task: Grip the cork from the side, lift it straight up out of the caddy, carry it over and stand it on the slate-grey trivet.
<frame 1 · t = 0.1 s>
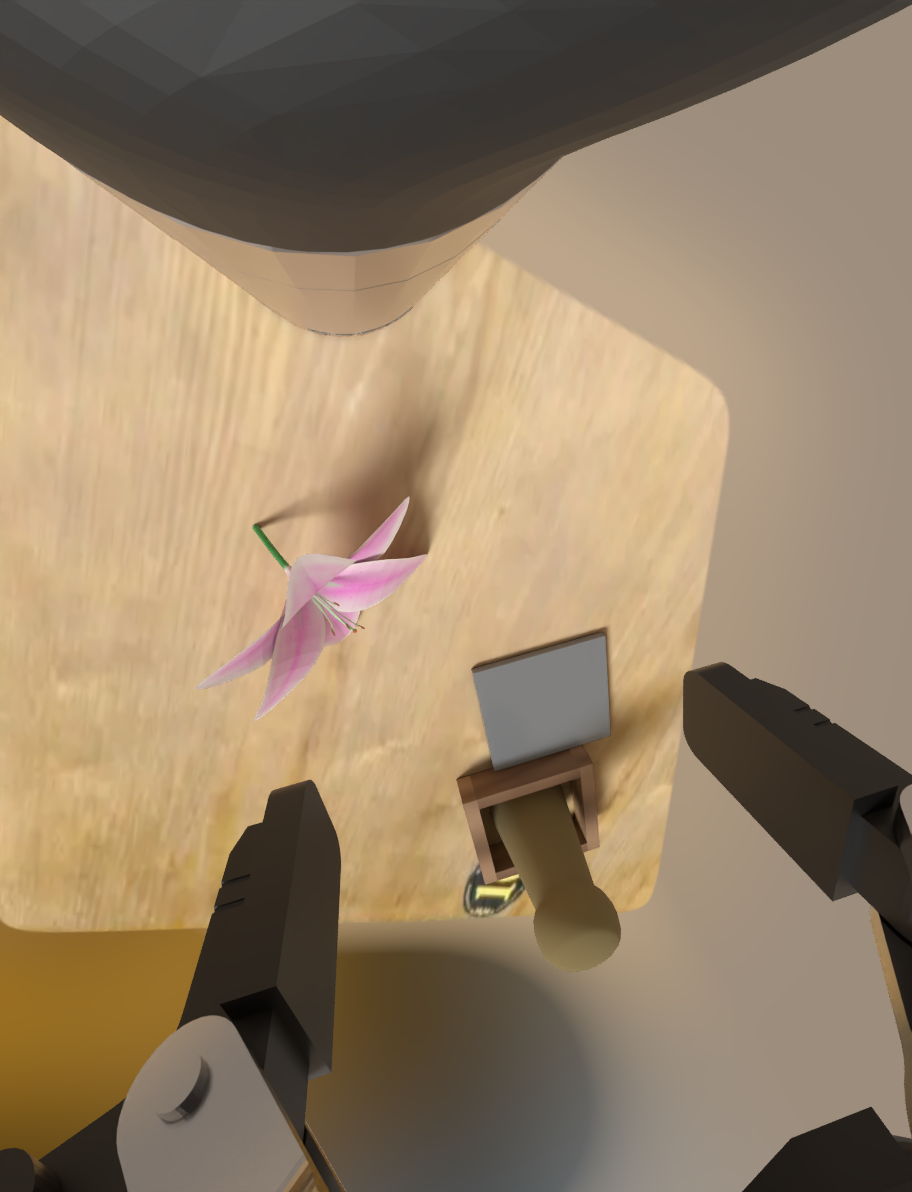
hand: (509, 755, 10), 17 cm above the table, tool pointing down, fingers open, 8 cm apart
cork: (525, 800, 37), resting in caddy
trivet: (544, 702, 33), on the table
lily: (328, 568, 26), on the table
caddy: (526, 803, 37), on the table
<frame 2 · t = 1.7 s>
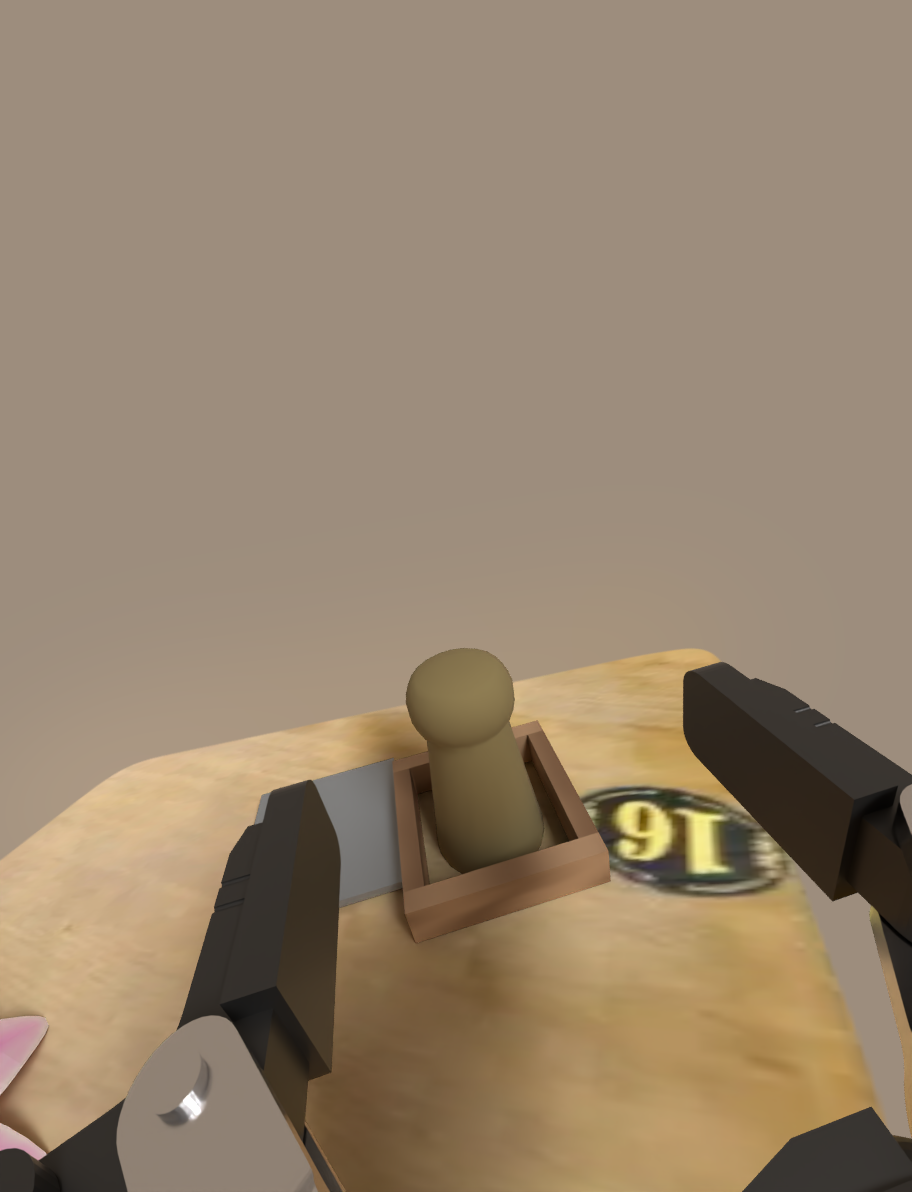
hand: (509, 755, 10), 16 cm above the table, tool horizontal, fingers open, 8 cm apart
cork: (490, 829, 26), resting in caddy
trivet: (326, 837, 28), on the table
caddy: (489, 826, 26), on the table
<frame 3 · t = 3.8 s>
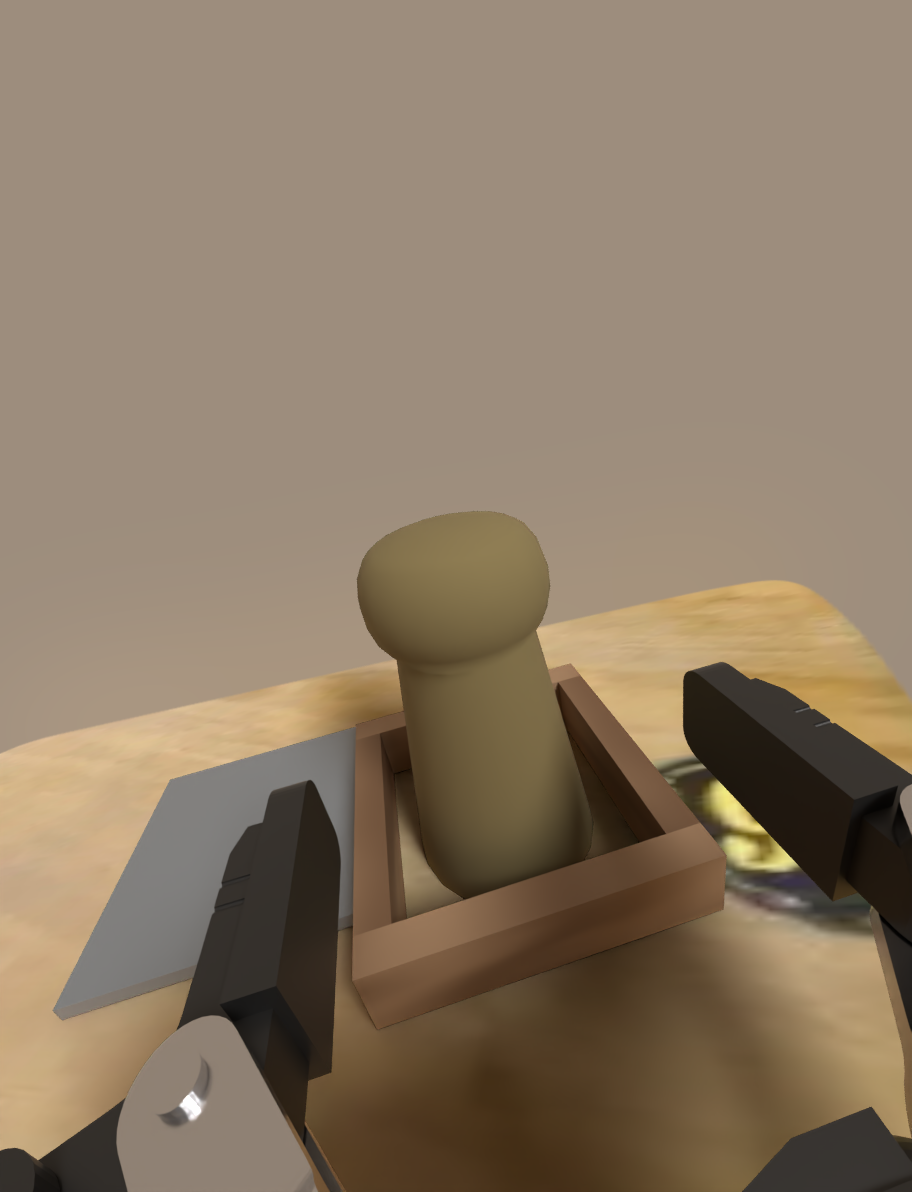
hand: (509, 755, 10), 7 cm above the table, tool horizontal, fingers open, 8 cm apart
cork: (505, 823, 17), resting in caddy
trivet: (251, 840, 18), on the table
caddy: (505, 819, 17), on the table
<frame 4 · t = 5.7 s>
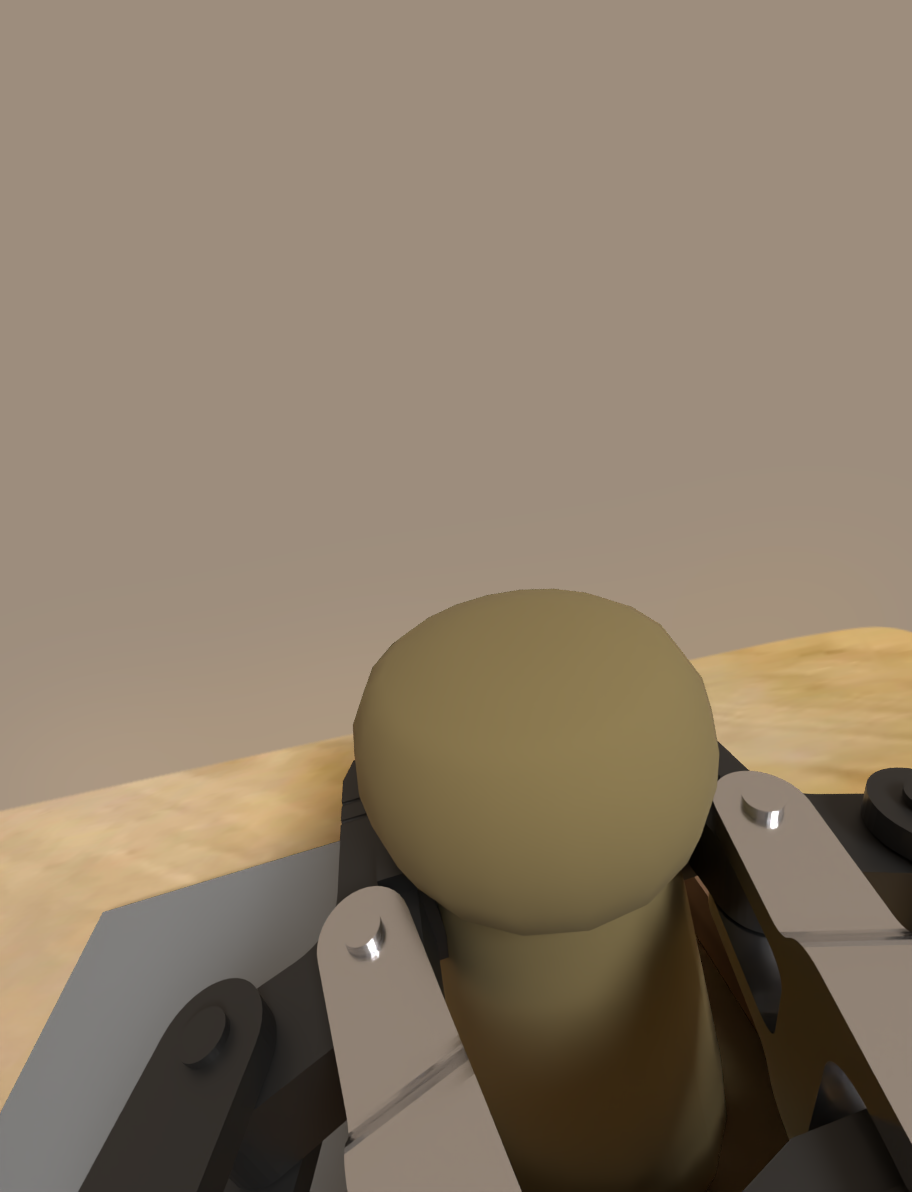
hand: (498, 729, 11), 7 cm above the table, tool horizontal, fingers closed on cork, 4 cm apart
cork: (578, 1040, 11), resting in caddy, touching gripper
trivet: (201, 1039, 12), on the table
caddy: (578, 1035, 11), on the table
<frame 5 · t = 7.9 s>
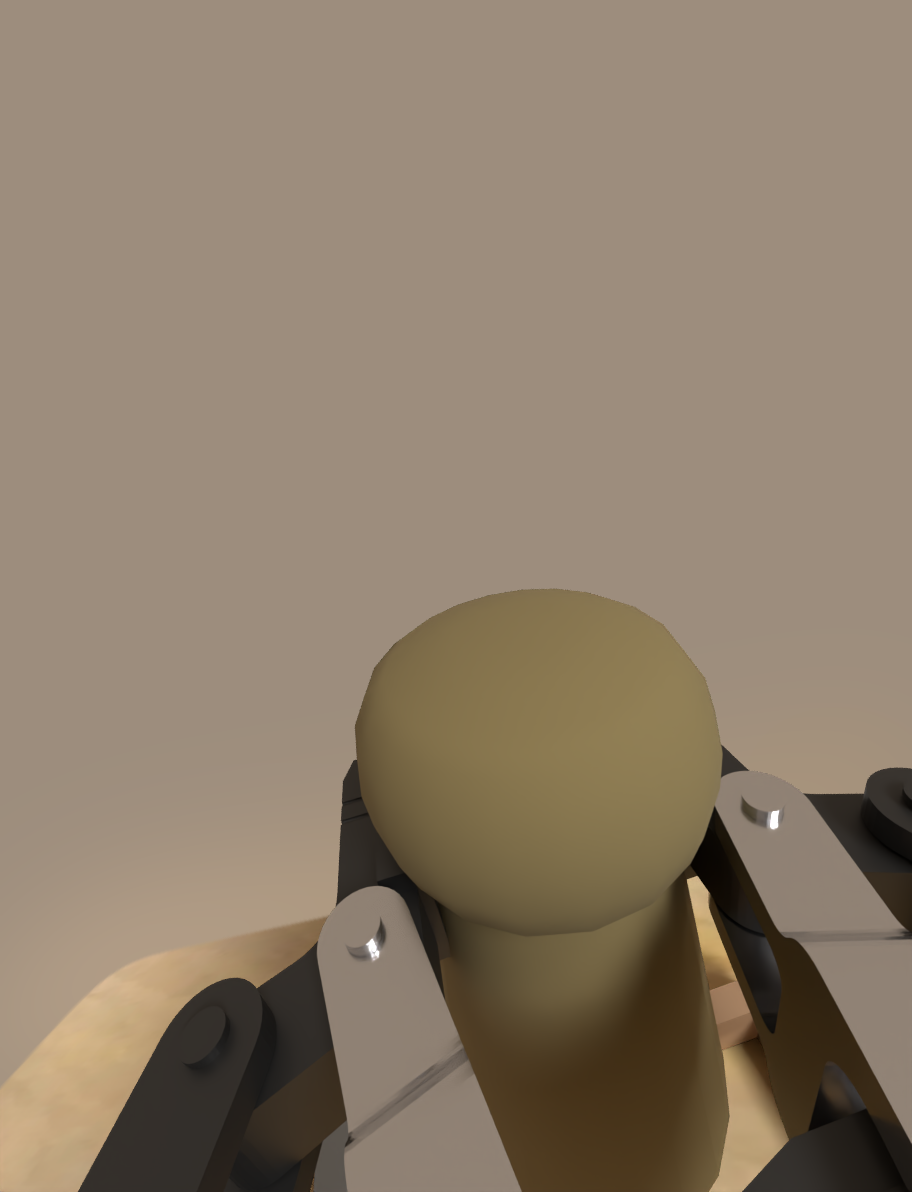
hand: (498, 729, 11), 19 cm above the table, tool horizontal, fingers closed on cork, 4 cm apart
cork: (580, 1040, 11), point 11 cm above the table, touching gripper
when the fingers open (8 cm above the table, at t = 10.3 s): cork moves 3 cm, resting on trivet.
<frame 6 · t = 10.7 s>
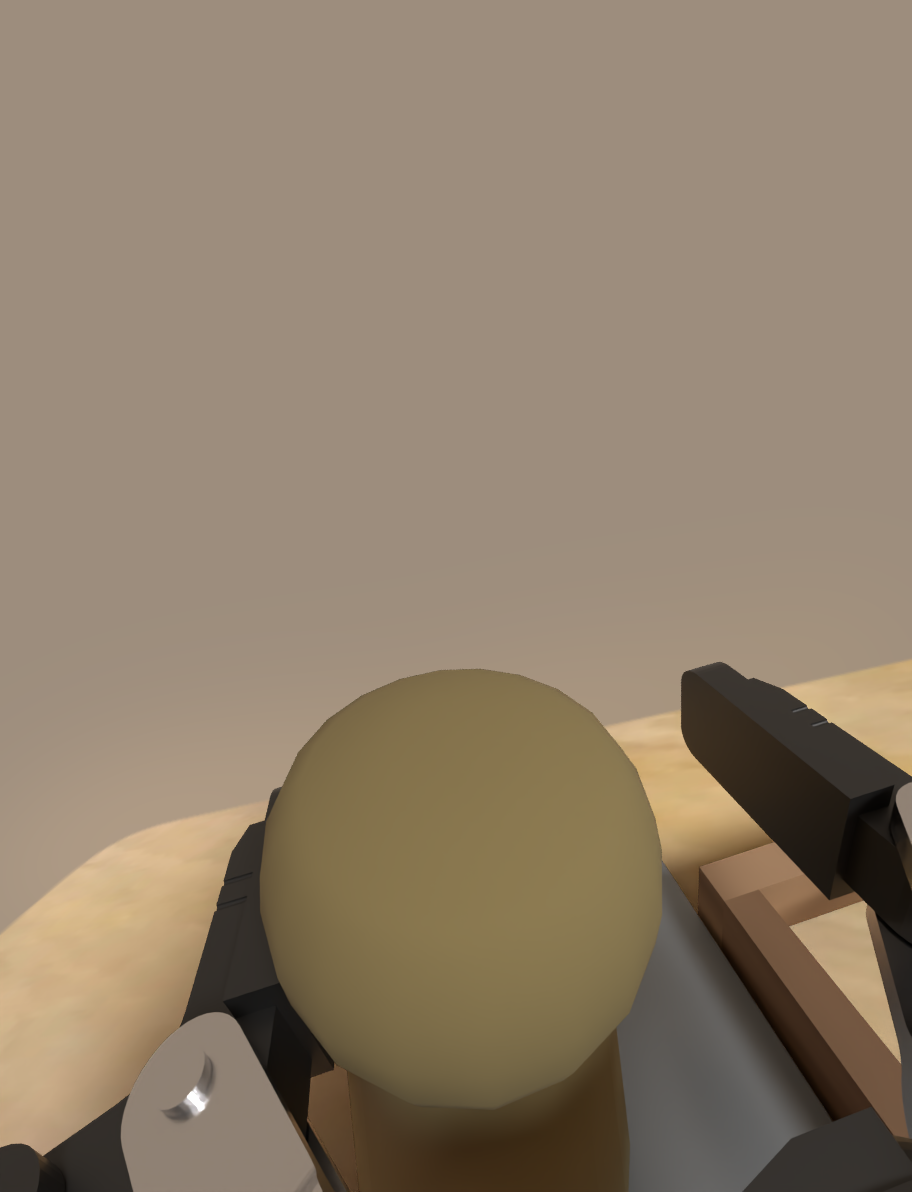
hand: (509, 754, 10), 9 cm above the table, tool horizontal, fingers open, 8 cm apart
cork: (490, 1110, 11), point 1 cm above the table, touching gripper, trivet
trivet: (584, 1066, 12), on the table
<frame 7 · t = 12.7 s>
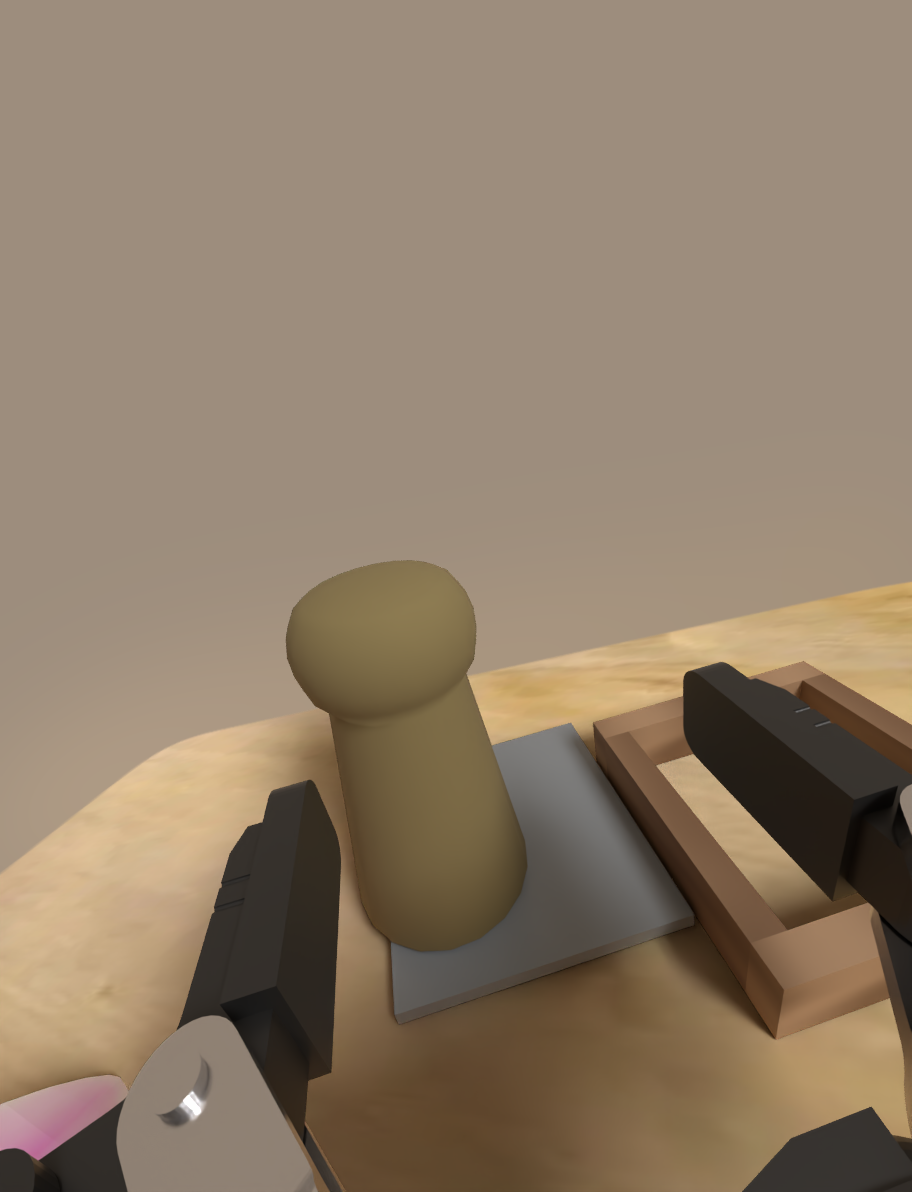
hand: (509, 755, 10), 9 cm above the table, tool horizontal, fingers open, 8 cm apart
cork: (444, 863, 17), resting on trivet
trivet: (507, 840, 18), on the table
caddy: (790, 821, 16), on the table
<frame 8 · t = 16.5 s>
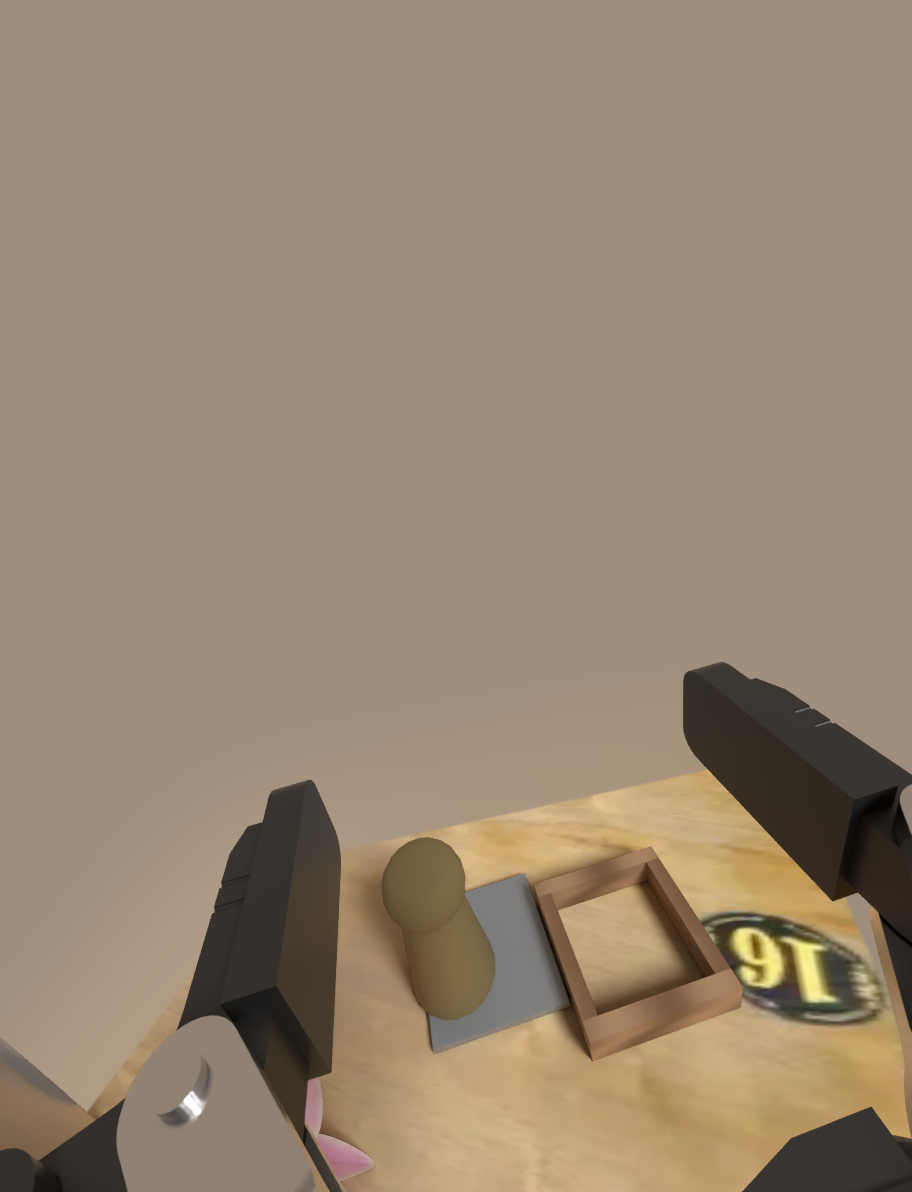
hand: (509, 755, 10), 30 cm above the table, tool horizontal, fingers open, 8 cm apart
cork: (453, 968, 33), resting on trivet
trivet: (486, 953, 34), on the table
caddy: (626, 948, 32), on the table
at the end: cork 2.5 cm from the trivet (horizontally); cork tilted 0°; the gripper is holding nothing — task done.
